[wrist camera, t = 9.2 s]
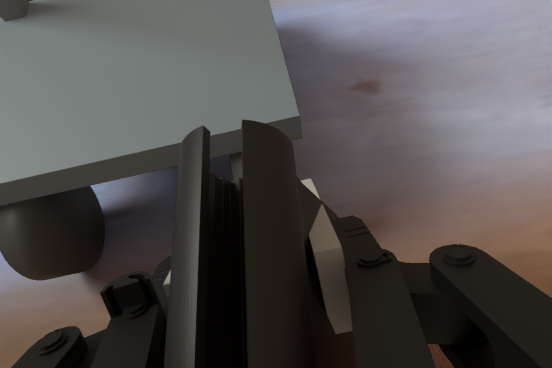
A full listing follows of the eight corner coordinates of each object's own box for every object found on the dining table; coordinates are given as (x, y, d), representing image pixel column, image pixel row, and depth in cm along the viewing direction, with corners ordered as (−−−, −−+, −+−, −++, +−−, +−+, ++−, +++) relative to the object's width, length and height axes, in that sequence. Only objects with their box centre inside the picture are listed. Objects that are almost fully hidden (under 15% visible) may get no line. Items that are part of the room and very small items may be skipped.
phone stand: (368, 248, 18) (424, 92, 7) (394, 378, 15) (542, 428, 5) (204, 264, 19) (43, 146, 8) (200, 390, 16) (-52, 456, 5)
